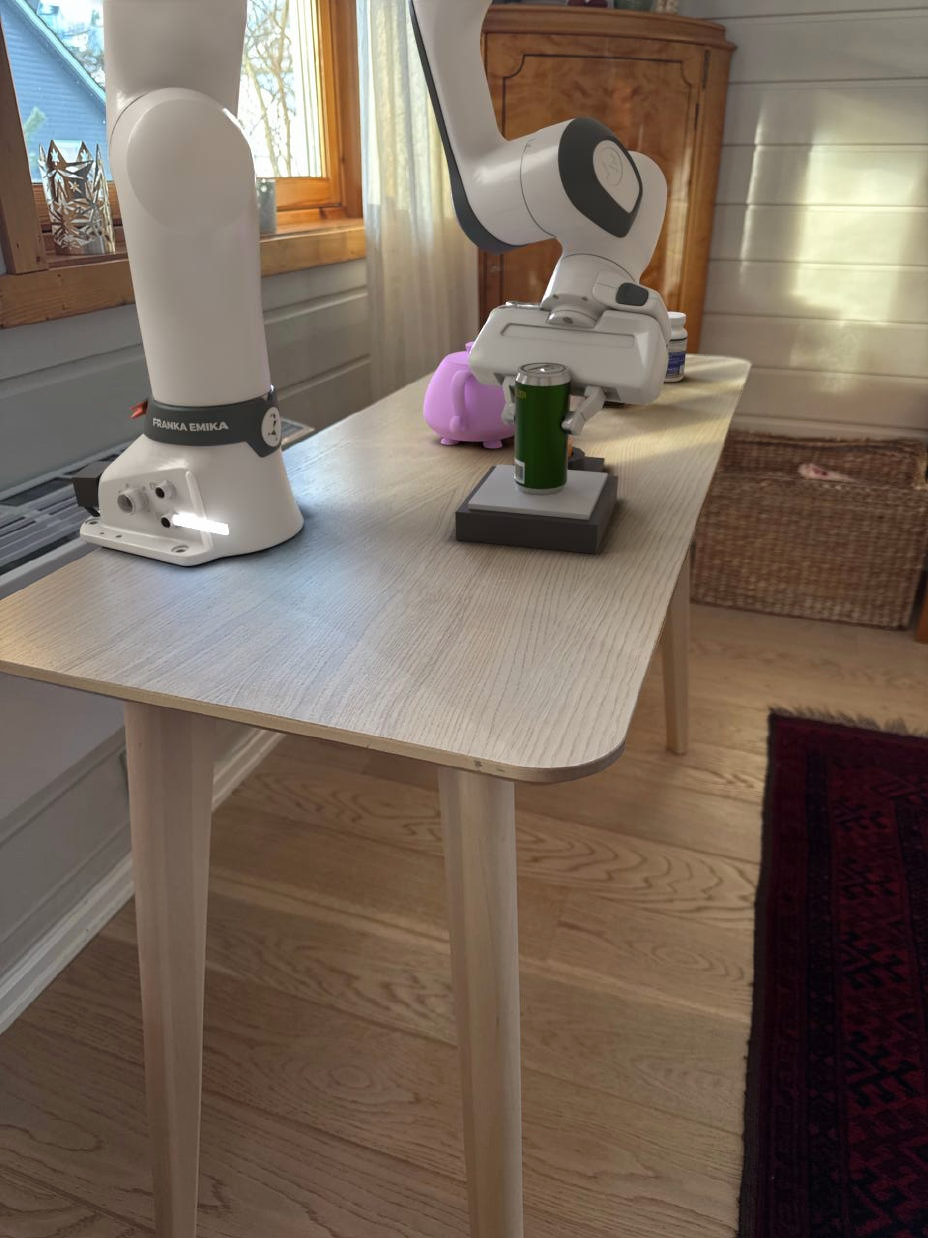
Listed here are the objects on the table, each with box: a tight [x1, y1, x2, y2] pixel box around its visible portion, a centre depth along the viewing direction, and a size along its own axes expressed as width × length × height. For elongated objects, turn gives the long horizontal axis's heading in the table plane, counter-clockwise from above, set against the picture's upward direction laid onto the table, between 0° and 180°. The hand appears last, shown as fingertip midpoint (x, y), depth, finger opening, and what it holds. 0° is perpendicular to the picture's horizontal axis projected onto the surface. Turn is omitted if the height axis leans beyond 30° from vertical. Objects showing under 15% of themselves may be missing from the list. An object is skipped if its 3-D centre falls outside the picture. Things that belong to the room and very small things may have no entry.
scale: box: [454, 463, 619, 555], centre depth 92 cm, size 14×14×4 cm
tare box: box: [512, 445, 606, 473], centre depth 104 cm, size 10×10×3 cm
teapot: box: [422, 341, 515, 449], centre depth 116 cm, size 20×14×12 cm
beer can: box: [513, 362, 572, 495], centre depth 89 cm, size 5×5×12 cm
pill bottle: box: [664, 311, 688, 383], centre depth 142 cm, size 6×6×10 cm
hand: (539, 427), depth 88 cm, fingers closed on beer can, 5 cm apart
